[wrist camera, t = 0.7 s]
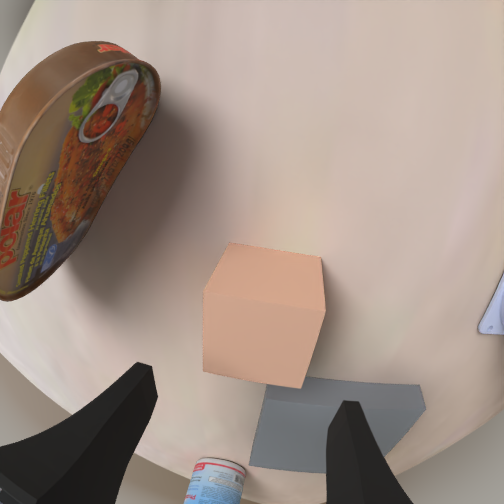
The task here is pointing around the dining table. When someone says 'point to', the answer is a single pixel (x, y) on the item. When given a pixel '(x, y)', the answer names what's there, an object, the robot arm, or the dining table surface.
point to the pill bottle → (215, 482)
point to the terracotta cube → (262, 315)
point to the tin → (65, 153)
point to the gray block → (327, 420)
